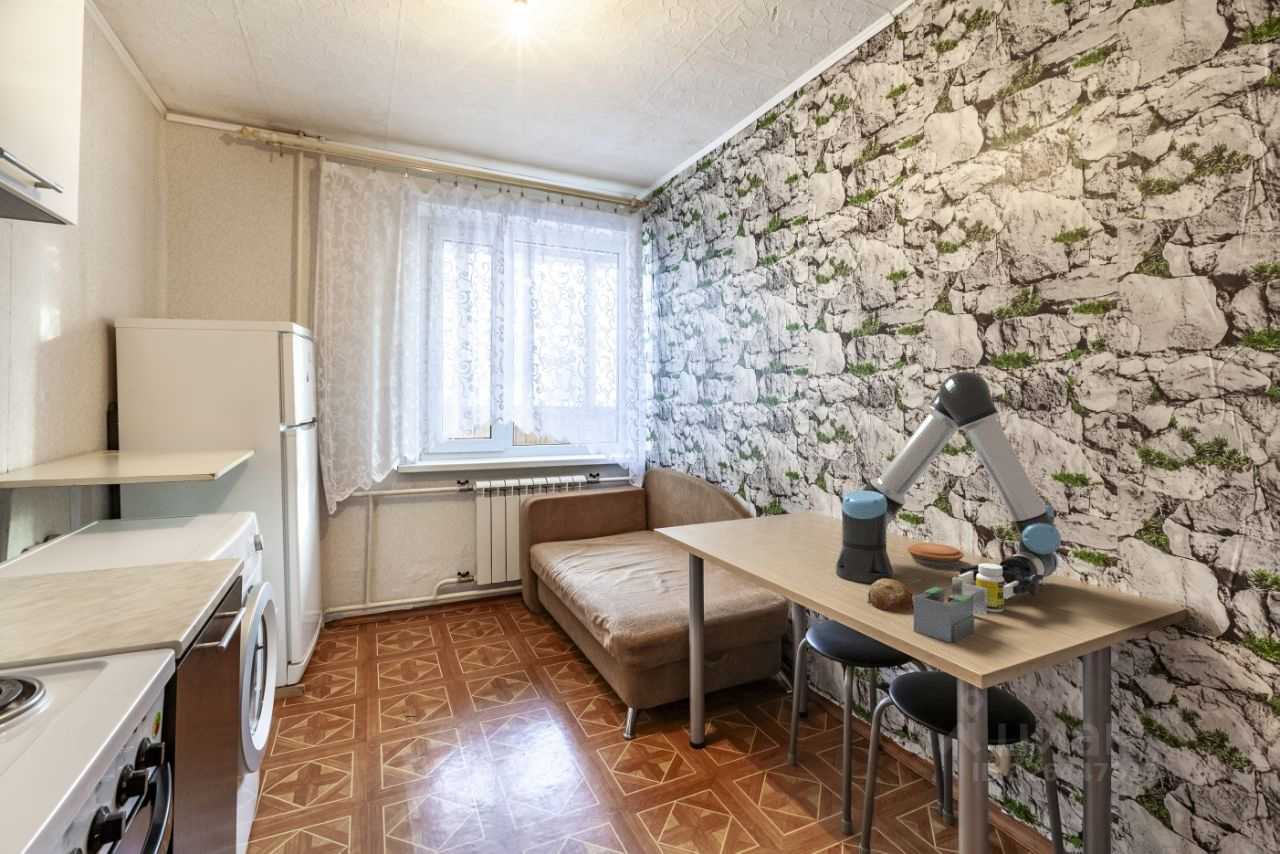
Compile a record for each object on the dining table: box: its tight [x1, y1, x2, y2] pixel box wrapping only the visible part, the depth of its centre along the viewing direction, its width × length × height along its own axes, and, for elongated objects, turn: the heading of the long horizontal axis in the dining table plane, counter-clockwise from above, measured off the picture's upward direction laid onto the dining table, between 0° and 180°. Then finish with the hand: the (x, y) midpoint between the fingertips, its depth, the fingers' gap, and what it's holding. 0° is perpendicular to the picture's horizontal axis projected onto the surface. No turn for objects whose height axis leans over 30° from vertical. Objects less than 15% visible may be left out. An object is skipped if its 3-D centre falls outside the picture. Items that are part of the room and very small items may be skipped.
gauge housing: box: [913, 586, 975, 644], centre depth 118 cm, size 10×8×8 cm
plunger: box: [947, 576, 988, 617], centre depth 123 cm, size 10×5×9 cm, turn 126°
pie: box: [906, 542, 965, 568], centre depth 170 cm, size 15×16×5 cm
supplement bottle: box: [975, 562, 1006, 613], centre depth 131 cm, size 6×6×10 cm
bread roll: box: [866, 578, 914, 612], centre depth 135 cm, size 10×10×8 cm
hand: (981, 586), depth 128 cm, fingers open, 9 cm apart
